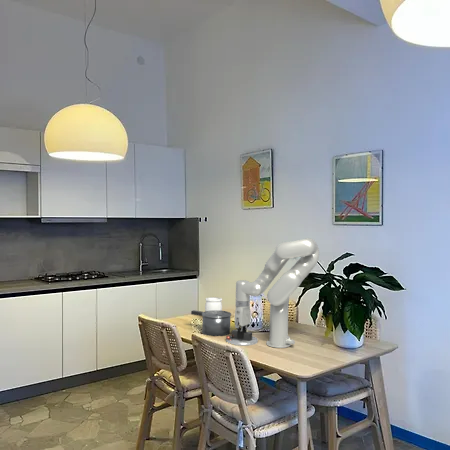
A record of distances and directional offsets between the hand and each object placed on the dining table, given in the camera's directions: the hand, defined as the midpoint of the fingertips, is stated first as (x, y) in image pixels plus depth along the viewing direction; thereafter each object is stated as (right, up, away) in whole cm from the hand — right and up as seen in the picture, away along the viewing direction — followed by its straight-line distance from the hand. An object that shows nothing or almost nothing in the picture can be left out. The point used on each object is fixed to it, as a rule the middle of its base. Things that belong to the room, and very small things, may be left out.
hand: (241, 337), depth 240 cm
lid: (0, -2, 0) cm, 2 cm away
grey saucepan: (-18, -1, +19) cm, 26 cm away
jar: (-16, -1, +42) cm, 45 cm away
